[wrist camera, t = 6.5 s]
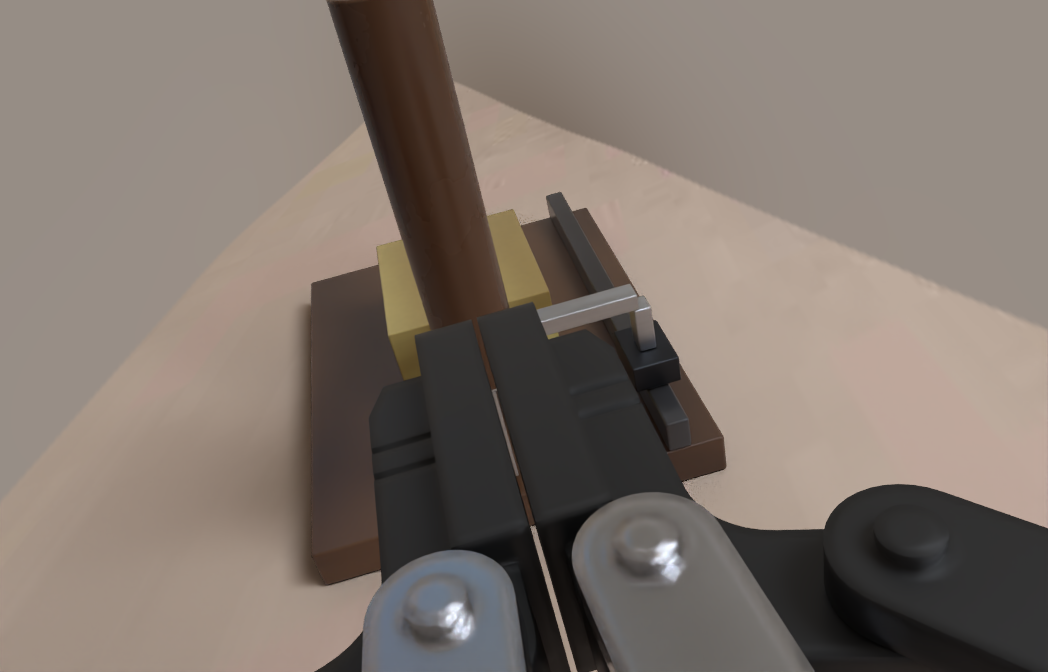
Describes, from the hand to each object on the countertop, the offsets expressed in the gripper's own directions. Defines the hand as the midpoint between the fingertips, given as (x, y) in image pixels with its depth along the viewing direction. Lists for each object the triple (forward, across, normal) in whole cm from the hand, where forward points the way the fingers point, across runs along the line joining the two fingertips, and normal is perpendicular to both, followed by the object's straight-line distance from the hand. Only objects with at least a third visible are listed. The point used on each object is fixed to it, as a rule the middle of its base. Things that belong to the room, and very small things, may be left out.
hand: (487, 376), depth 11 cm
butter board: (+21, 0, +15) cm, 26 cm away
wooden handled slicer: (+15, -2, +14) cm, 20 cm away
